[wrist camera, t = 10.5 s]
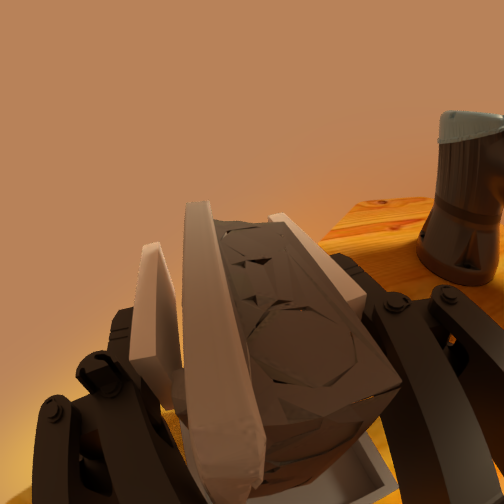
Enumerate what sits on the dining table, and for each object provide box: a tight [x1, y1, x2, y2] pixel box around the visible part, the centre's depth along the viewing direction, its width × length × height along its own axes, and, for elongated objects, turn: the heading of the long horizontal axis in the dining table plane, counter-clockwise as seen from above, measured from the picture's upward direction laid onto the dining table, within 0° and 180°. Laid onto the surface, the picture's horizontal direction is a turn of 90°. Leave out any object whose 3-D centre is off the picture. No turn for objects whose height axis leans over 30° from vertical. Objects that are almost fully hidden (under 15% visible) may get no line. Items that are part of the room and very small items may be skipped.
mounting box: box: [179, 383, 399, 504], centre depth 16 cm, size 13×14×3 cm
